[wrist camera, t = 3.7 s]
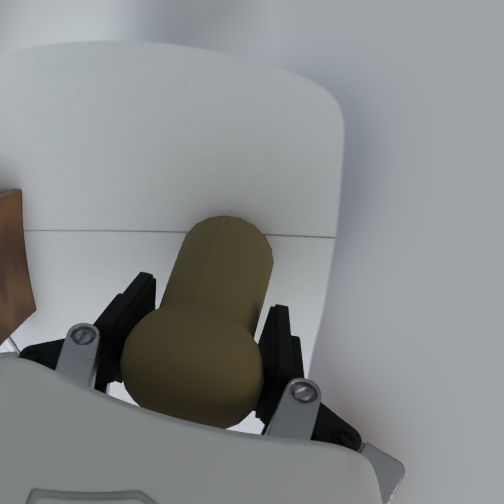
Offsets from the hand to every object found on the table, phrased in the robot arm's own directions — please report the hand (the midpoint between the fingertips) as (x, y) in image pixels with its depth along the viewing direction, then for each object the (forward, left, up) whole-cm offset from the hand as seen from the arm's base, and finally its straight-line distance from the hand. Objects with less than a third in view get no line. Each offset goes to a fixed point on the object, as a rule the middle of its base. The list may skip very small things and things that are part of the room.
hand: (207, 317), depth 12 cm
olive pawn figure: (0, 0, -6) cm, 6 cm away
